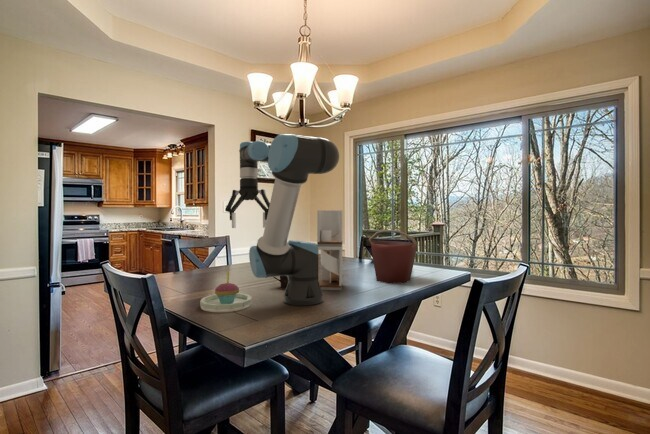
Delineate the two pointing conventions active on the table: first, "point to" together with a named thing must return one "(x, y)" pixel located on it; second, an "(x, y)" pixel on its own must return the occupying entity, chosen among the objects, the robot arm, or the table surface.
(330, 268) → the display case
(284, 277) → the coffee mug
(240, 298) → the rimmed plate
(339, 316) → the table surface
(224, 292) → the cupcake
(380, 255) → the bucket
